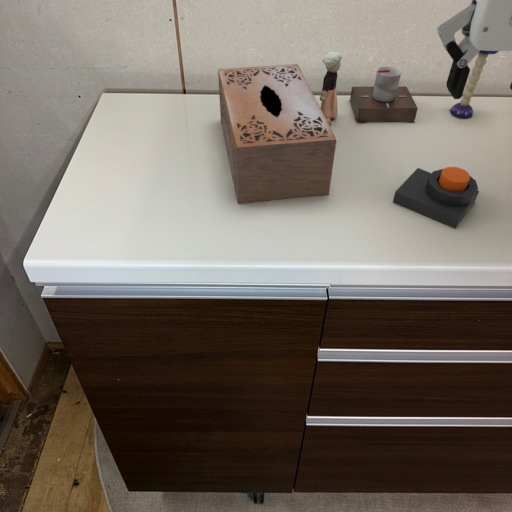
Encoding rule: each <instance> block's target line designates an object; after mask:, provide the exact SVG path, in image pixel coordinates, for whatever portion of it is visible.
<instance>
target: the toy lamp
mask: <svg viewBox="0 0 512 512" xmlns="http://www.w3.org/2000/svg"><path fill="white" fill-rule="evenodd" d="M499 52H500V51H483V50H480V51H479V52H478V54H477V57H476V59H475V62H474V66H473V67H472V69H471V74H469V76H468V82H466V85H465V89H464V91H463V94H462V97H461V98H460V102H457V103H455V104H453V106H451V108H450V110H449V111H450V114H451V115H452V116H453V117H456V118H458V119H465V120H466V119H470V118H472V117H473V115H474V109H473V107H472V105H470V103H471V98H472V97H473V95H474V91H475V90H476V89H477V83H479V81H480V78H481V74H482V72H483V69H484V66H485V65H486V62H487V58H488V57H489V55H496V54H497V53H499Z"/></svg>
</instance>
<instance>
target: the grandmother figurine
mask: <svg viewBox="0 0 512 512" xmlns="http://www.w3.org/2000/svg"><path fill="white" fill-rule="evenodd" d="M342 59H343V55H342V54H341V53H340V52H337V51H330V52H327V54H326V55H325V56H324V58H323V59H322V63H324V66H325V69H326V73H325V75H324V76H323V82H322V87H321V92H320V96H319V101H321V103H320V108H321V110H322V112H323V114H324V116H325V118H326V120H327V122H328V124H329V126H330V125H331V124H332V119H334V118H335V117H337V116H338V93H337V81H338V71H339V70H340V68H341V61H342Z"/></svg>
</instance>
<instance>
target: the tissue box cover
mask: <svg viewBox="0 0 512 512" xmlns="http://www.w3.org/2000/svg"><path fill="white" fill-rule="evenodd" d="M217 75H218V77H217V78H218V95H219V112H220V123H221V124H220V125H221V128H222V133H224V134H223V139H224V138H225V139H224V142H225V148H226V152H227V158H228V163H229V168H230V172H231V177H232V182H233V187H234V191H235V196H236V202H237V204H238V205H242V204H251V203H253V204H254V203H263V202H271V201H280V200H289V199H290V200H291V199H300V198H310V197H321V196H330V189H331V184H332V183H331V181H332V175H333V167H334V160H335V153H336V148H337V147H336V146H337V137H336V136H335V133H334V131H333V130H332V127H331V126H330V125H329V124H328V122H327V120H326V118H325V116H324V114H323V112H322V110H321V105H320V104H319V102H318V101H317V99H316V97H315V94H314V93H313V91H312V89H311V87H310V85H309V83H308V81H307V79H306V77H305V76H304V74H303V71H302V70H301V67H300V66H299V65H298V63H295V64H294V63H293V64H280V65H277V64H276V65H263V66H262V65H261V66H245V67H232V68H231V67H230V68H218V69H217Z"/></svg>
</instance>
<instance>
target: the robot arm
mask: <svg viewBox="0 0 512 512" xmlns="http://www.w3.org/2000/svg"><path fill="white" fill-rule="evenodd" d="M436 29H437V30H436V31H437V34H438V37H439V39H440V40H441V43H442V46H443V48H444V49H445V50H446V52H447V54H448V55H449V56H450V58H451V59H452V63H451V67H450V69H449V73H448V75H447V80H446V86H445V87H446V88H447V91H448V92H449V94H450V95H451V97H452V98H453V99H454V100H461V99H462V97H463V93H464V91H465V89H466V85H467V83H468V82H467V81H468V80H469V77H470V72H471V68H470V67H469V66H468V65H469V63H471V62H472V61H473V59H474V58H475V57H476V56H478V53H479V51H480V50H483V51H499V52H512V0H469V1H468V4H467V7H465V8H464V9H462V10H461V11H459V12H458V13H456V14H455V15H454V16H452V17H450V18H449V19H447V20H446V21H445V22H443V23H441V24H440V25H438V26H437V28H436ZM460 30H461V34H462V35H463V36H464V37H463V38H462V39H461V41H460V42H458V43H457V41H456V38H455V34H456V33H457V32H458V31H460ZM509 89H510V90H511V91H512V82H510V85H509Z"/></svg>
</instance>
